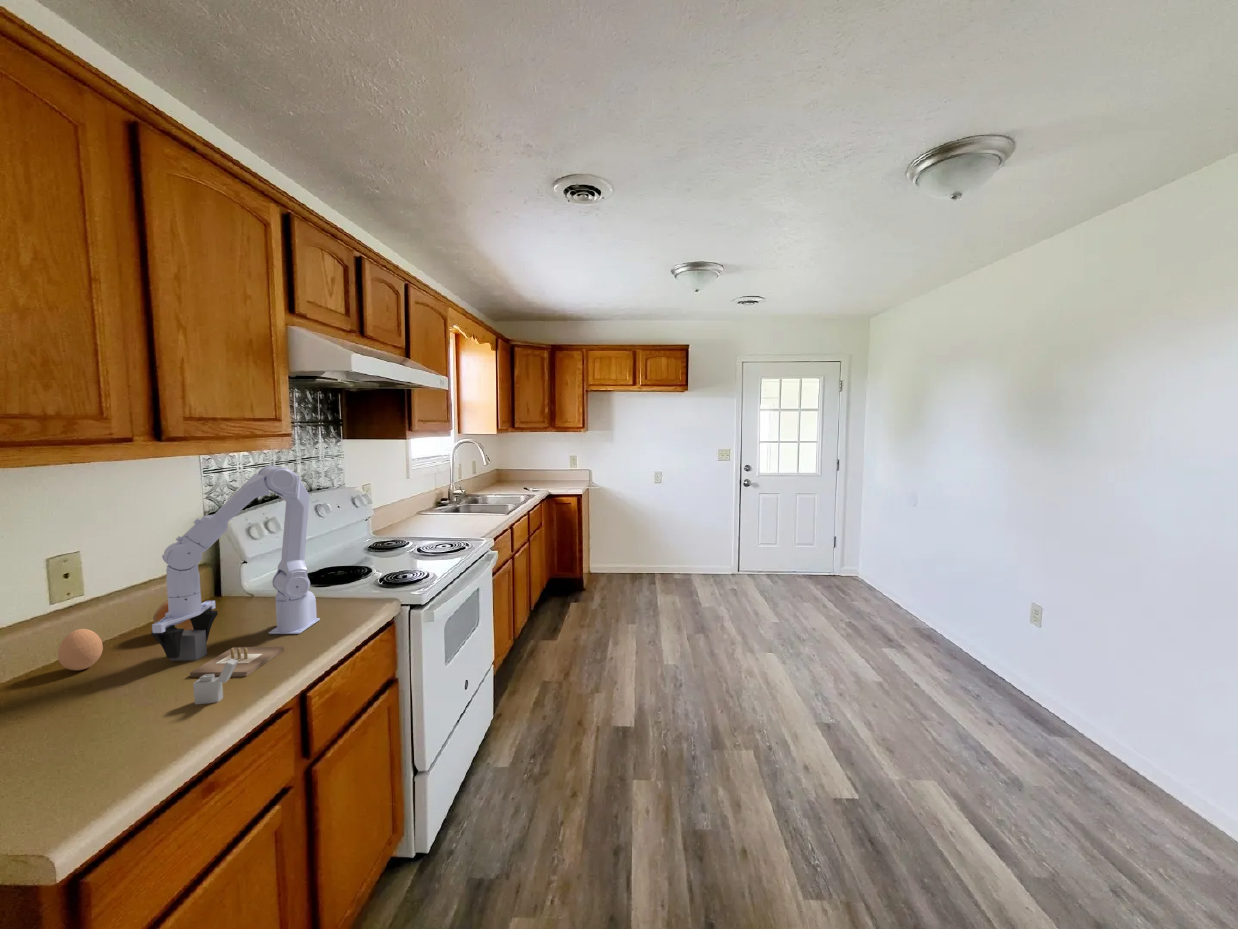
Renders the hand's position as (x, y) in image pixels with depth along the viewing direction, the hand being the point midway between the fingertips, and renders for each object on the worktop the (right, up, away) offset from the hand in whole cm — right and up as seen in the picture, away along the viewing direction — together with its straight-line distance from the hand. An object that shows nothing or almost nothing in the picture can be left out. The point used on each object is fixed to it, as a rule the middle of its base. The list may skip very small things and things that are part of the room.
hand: (188, 650), depth 112 cm
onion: (-14, -1, +14) cm, 20 cm away
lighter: (+22, -4, -17) cm, 28 cm away
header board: (+14, -2, -2) cm, 14 cm away
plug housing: (0, -2, 0) cm, 2 cm away
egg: (-19, -2, -5) cm, 20 cm away
